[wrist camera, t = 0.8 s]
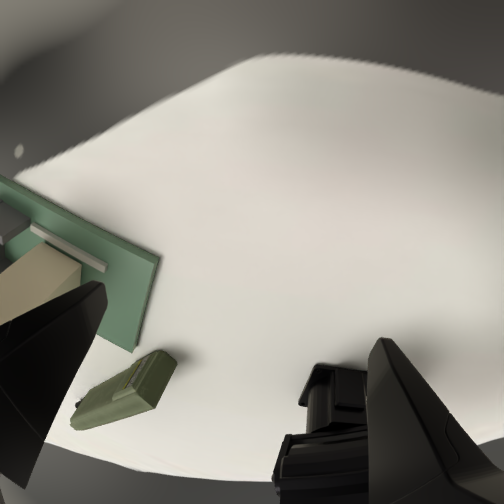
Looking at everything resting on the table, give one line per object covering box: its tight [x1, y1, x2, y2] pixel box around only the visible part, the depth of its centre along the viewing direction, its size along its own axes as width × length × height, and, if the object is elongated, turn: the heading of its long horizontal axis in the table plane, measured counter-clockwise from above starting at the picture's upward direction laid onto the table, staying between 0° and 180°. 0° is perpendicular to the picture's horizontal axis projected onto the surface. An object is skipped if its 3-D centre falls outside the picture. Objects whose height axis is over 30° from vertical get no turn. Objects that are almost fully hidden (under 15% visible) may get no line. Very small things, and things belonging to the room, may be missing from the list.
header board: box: [0, 175, 159, 353], centre depth 24 cm, size 20×12×6 cm, turn 67°
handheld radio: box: [70, 350, 177, 430], centre depth 33 cm, size 7×3×25 cm
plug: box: [0, 242, 82, 325], centre depth 20 cm, size 5×5×13 cm
